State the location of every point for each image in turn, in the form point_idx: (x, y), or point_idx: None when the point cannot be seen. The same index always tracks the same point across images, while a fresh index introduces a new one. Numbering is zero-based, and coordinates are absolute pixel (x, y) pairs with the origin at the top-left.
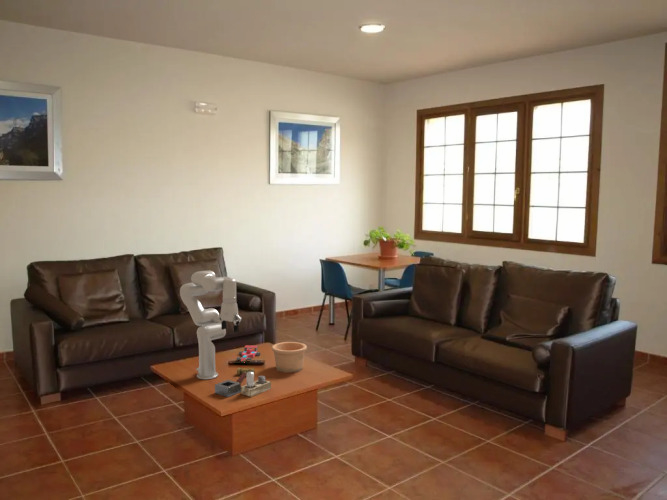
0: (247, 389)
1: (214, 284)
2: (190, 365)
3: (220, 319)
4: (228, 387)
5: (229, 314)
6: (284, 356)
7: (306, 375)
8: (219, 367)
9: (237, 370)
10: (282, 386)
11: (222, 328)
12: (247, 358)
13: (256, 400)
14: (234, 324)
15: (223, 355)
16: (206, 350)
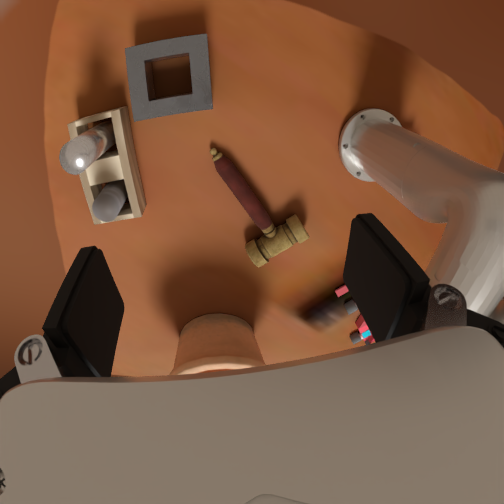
0: (86, 118)
1: None
2: None
3: (483, 323)
4: (130, 56)
5: None
6: (194, 354)
7: (140, 332)
8: (390, 224)
9: (298, 222)
10: (99, 248)
11: (362, 223)
12: (354, 307)
13: (46, 117)
14: (48, 348)
15: None
16: (424, 159)
